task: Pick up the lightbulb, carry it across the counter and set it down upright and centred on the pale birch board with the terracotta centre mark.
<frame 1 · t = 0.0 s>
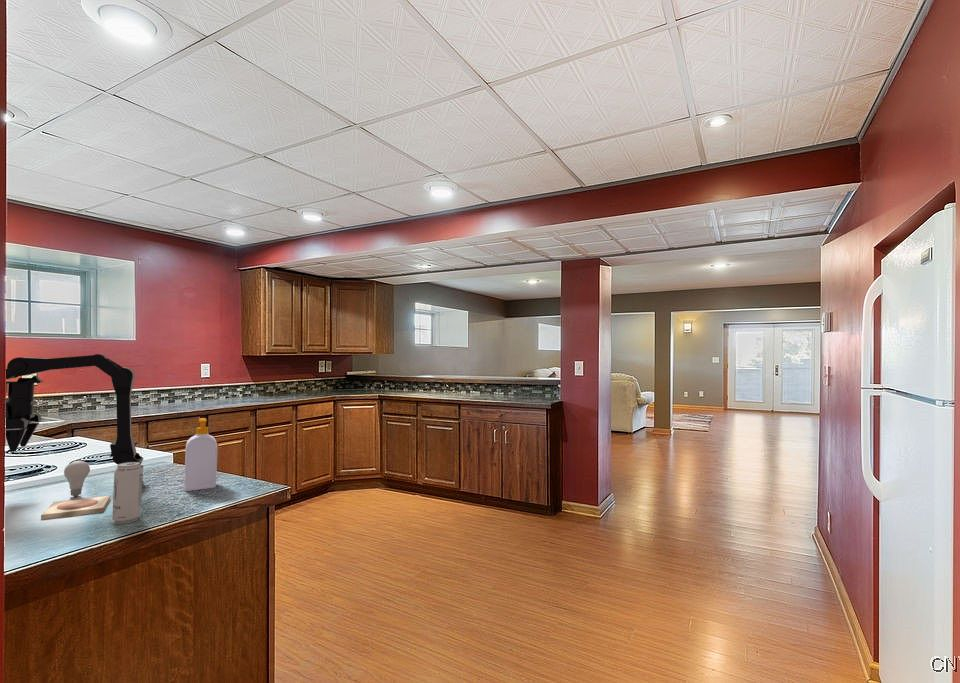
hand: (18, 449, 144), 15 cm above the counter, tool pointing down, fingers open, 9 cm apart
soap bottle: (200, 487, 158), on the counter
lightbulb: (75, 497, 145), on the counter
birch board: (77, 508, 134), on the counter
energy drink can: (126, 521, 125), on the counter
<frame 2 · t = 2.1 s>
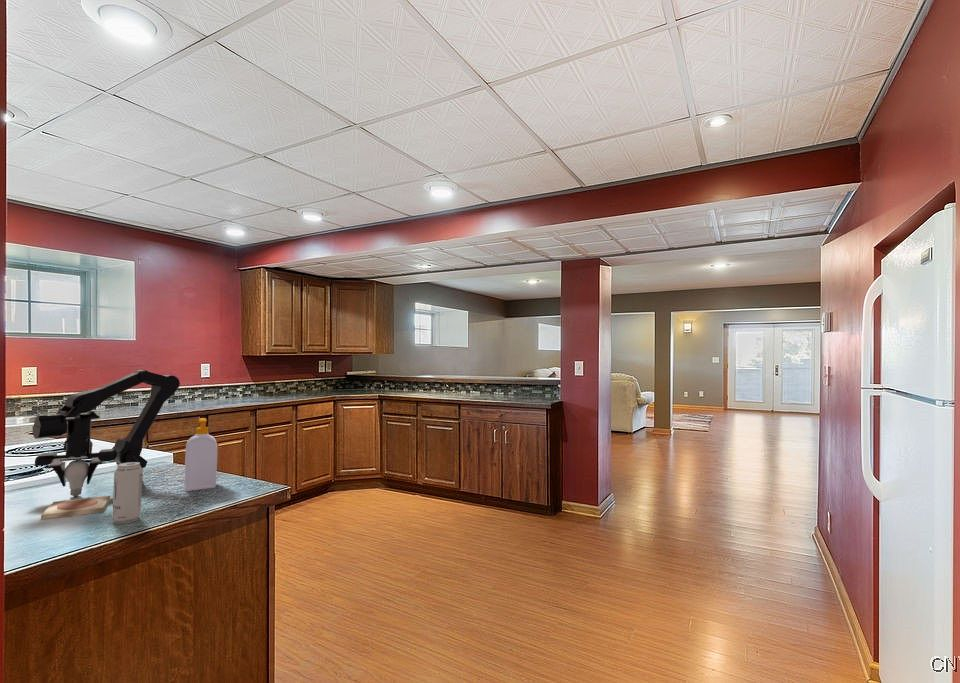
hand: (76, 485, 145), 4 cm above the counter, tool pointing down, fingers closed on lightbulb, 5 cm apart
lightbulb: (75, 497, 145), on the counter, touching gripper
everything else where it was.
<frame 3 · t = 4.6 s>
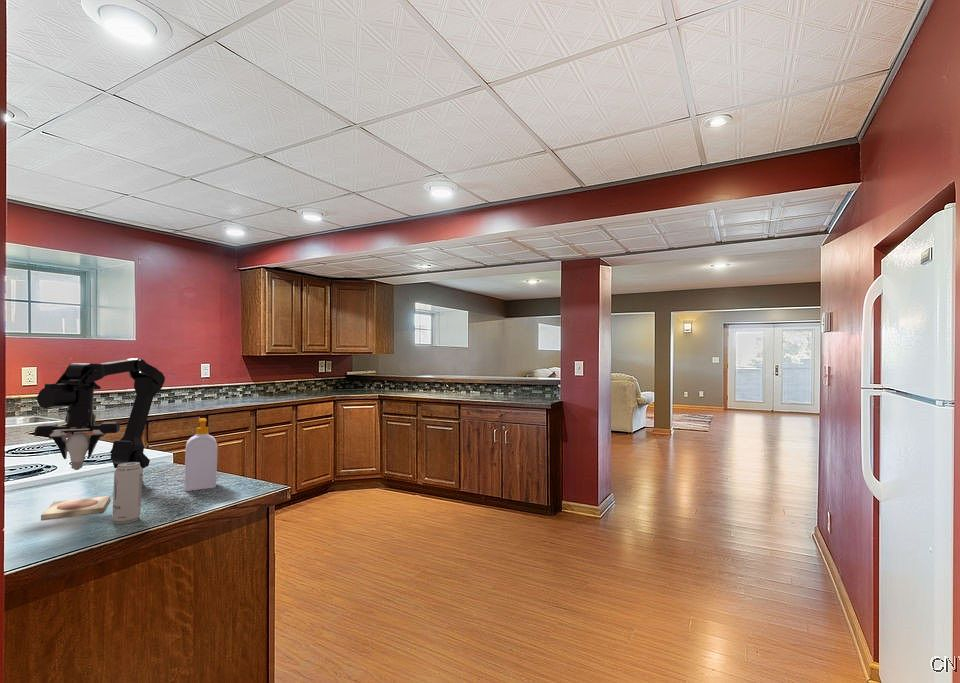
hand: (77, 458, 139), 13 cm above the counter, tool pointing down, fingers closed on lightbulb, 5 cm apart
lightbulb: (76, 470, 139), point 10 cm above the counter, touching gripper
everything else where it was.
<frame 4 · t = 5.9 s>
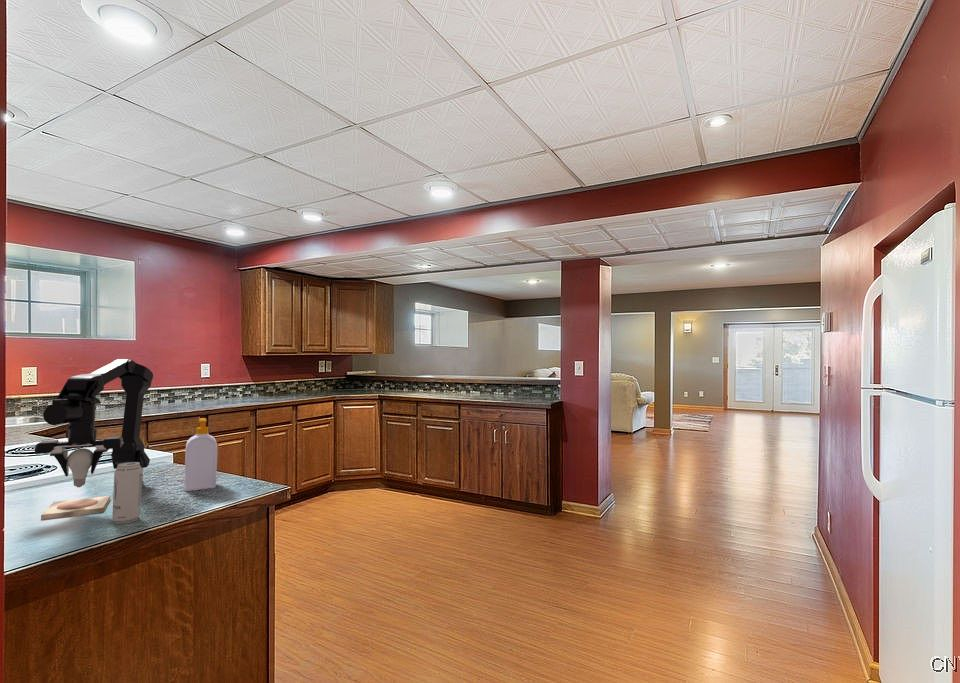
hand: (79, 474, 135), 10 cm above the counter, tool pointing down, fingers closed on lightbulb, 5 cm apart
lightbulb: (79, 487, 134), point 6 cm above the counter, touching gripper
everything else where it was.
when the fingers open (6 cm above the counter, at t = 7.1 s): lightbulb drops 1 cm, resting on birch board.
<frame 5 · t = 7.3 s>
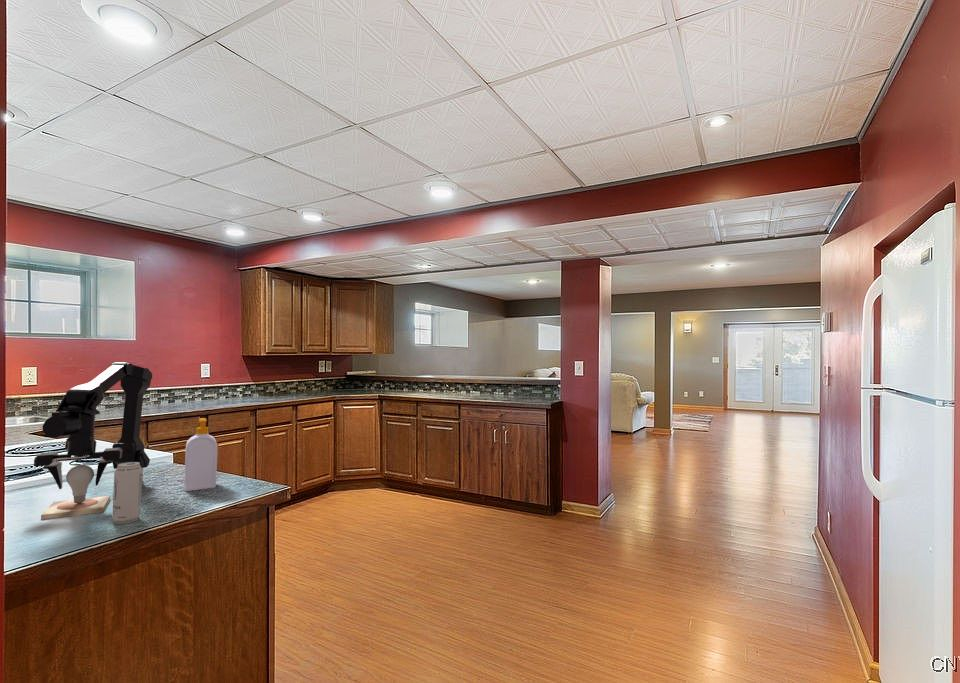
hand: (79, 486, 134), 6 cm above the counter, tool pointing down, fingers open, 8 cm apart
lightbulb: (79, 504, 134), point 1 cm above the counter, touching birch board
everything else where it was.
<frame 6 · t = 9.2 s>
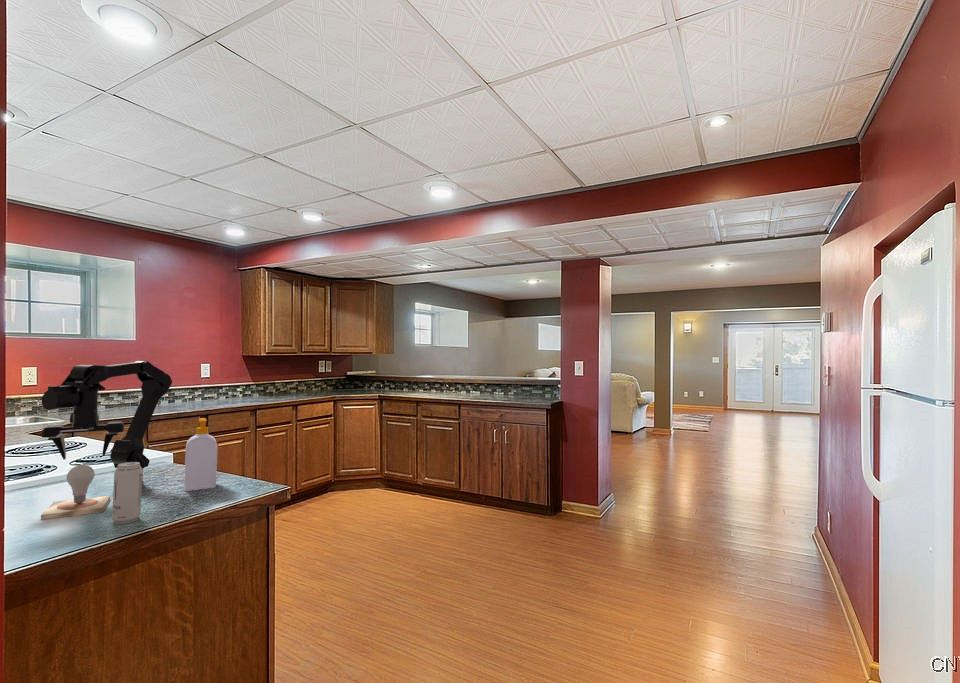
hand: (84, 457, 143), 13 cm above the counter, tool pointing down, fingers open, 9 cm apart
nothing on the counter moved.
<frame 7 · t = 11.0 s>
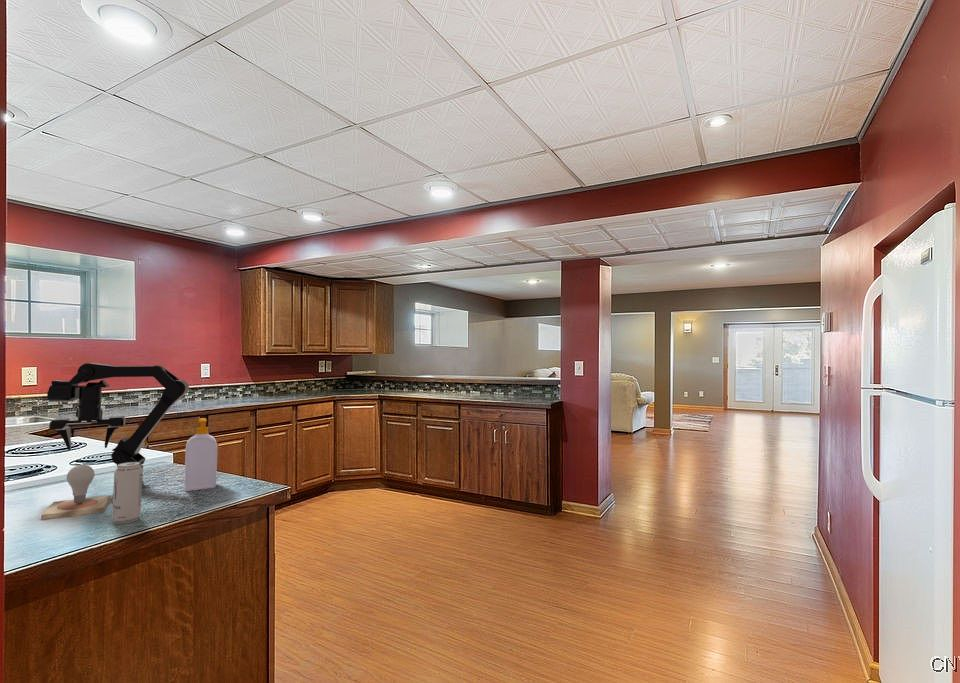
hand: (87, 449, 154), 13 cm above the counter, tool pointing down, fingers open, 9 cm apart
nothing on the counter moved.
at the end: lightbulb 0.3 cm off-centre on the birch board, point 1.1 cm above the birch board's base; lightbulb tilted 0°; the gripper is holding nothing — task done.
